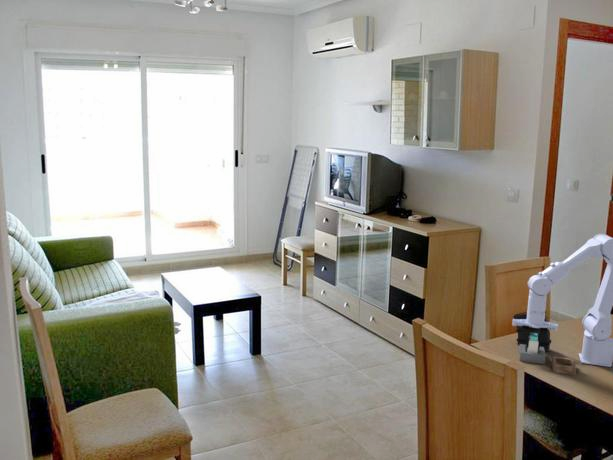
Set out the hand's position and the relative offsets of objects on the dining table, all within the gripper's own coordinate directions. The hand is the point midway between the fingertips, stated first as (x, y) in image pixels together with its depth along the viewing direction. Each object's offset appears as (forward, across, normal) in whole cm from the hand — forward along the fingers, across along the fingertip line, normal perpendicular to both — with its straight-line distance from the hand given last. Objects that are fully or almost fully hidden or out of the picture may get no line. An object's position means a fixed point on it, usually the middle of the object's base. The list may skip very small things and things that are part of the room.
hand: (532, 347), depth 200 cm
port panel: (+4, 0, 0) cm, 4 cm away
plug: (+3, 0, 0) cm, 3 cm away
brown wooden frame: (+4, +10, -6) cm, 12 cm away
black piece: (+4, 0, +11) cm, 12 cm away
